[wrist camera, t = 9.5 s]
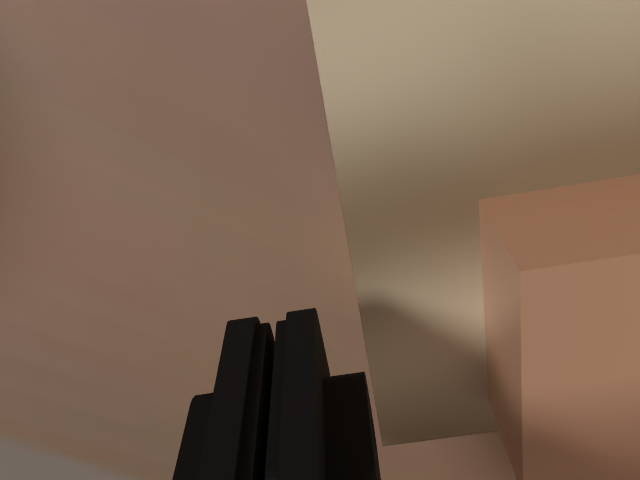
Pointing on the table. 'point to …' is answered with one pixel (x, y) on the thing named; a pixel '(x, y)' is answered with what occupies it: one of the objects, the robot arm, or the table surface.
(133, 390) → the table surface
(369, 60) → the board
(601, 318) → the tile
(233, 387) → the robot arm
